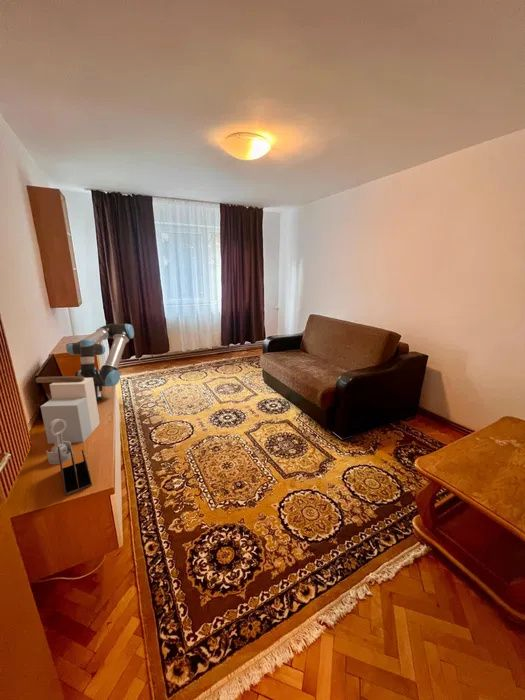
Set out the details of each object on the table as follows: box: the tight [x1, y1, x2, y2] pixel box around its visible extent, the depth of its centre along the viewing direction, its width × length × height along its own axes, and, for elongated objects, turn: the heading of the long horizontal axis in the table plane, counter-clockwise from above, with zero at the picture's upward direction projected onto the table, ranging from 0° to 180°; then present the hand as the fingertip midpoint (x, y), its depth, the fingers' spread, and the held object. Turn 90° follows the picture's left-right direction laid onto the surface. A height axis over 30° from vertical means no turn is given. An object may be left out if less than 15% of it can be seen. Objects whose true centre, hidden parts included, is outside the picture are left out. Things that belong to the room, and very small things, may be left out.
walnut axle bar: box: [35, 375, 84, 384], centre depth 159 cm, size 3×24×2 cm, turn 96°
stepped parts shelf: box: [39, 378, 101, 445], centre depth 159 cm, size 20×18×30 cm
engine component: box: [45, 419, 74, 465], centre depth 139 cm, size 11×20×10 cm
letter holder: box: [58, 447, 93, 496], centre depth 126 cm, size 10×20×14 cm, turn 38°
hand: (88, 397), depth 179 cm, fingers open, 13 cm apart
